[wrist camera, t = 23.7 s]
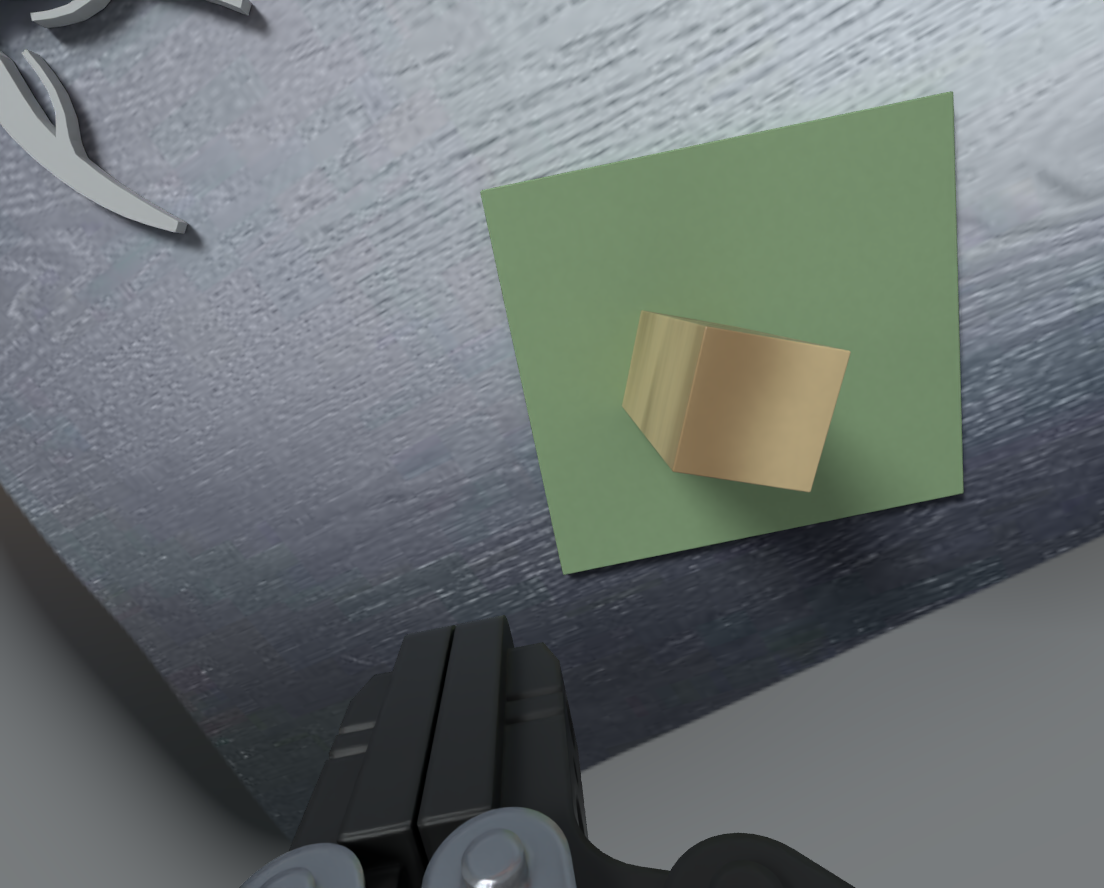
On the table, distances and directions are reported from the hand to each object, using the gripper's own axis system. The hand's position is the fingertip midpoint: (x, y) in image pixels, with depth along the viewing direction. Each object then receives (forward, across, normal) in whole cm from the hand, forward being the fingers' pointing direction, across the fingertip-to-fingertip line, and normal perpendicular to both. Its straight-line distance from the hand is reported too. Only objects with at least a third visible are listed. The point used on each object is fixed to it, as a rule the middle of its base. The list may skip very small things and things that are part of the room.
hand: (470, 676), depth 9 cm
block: (+19, -8, -1) cm, 21 cm away
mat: (+20, -11, -1) cm, 23 cm away
